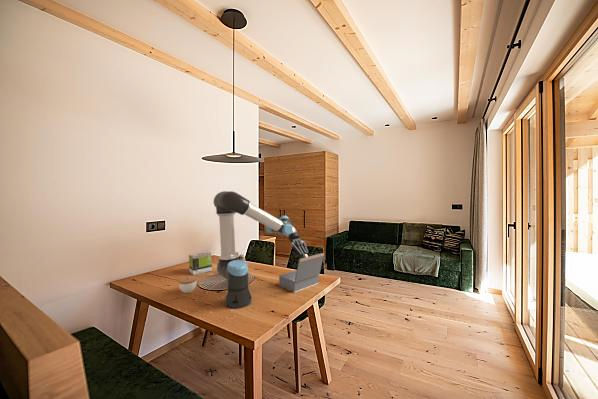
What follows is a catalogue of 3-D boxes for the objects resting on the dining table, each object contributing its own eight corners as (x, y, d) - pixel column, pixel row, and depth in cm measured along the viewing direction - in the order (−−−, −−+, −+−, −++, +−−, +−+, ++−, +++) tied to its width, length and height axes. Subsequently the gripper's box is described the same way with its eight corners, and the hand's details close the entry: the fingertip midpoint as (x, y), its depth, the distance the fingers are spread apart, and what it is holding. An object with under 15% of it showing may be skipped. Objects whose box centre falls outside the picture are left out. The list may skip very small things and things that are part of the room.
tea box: (207, 268, 212) (207, 250, 212) (212, 271, 204) (211, 253, 204) (189, 272, 203) (188, 254, 202) (193, 275, 195) (192, 256, 194)
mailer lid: (294, 281, 159) (295, 282, 159) (299, 259, 155) (300, 259, 155) (318, 273, 174) (319, 274, 173) (323, 252, 170) (324, 253, 169)
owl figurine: (235, 277, 188) (234, 255, 188) (223, 275, 194) (222, 253, 193) (250, 270, 204) (250, 249, 203) (239, 268, 210) (239, 248, 209)
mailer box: (294, 292, 160) (294, 281, 159) (279, 285, 172) (279, 275, 171) (318, 283, 174) (318, 273, 174) (303, 277, 186) (302, 268, 186)
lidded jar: (200, 290, 166) (199, 276, 165) (185, 295, 157) (184, 281, 156) (190, 286, 172) (190, 273, 171) (175, 292, 163) (175, 277, 162)
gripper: (296, 236, 183) (313, 264, 171) (282, 239, 174) (299, 268, 163) (301, 230, 179) (319, 258, 167) (287, 232, 170) (304, 262, 158)
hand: (309, 263), depth 165 cm, fingers closed
